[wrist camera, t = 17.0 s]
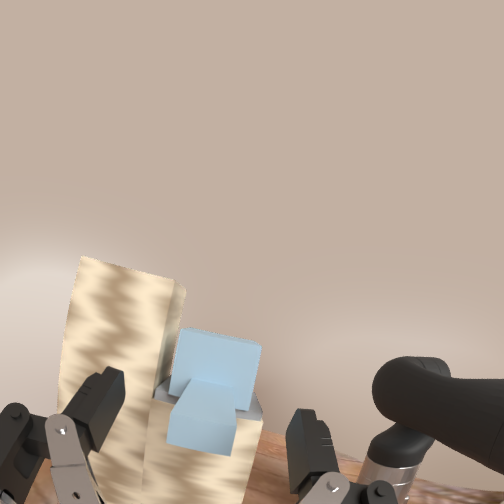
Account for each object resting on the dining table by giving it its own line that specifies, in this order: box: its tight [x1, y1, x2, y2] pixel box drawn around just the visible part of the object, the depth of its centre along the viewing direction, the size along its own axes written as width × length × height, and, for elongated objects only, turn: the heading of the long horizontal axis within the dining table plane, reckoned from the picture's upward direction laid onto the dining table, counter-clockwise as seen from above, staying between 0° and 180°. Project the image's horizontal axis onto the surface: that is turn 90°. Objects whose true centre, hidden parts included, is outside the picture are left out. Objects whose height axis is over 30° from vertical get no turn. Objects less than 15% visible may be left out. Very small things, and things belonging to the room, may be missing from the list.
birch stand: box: [57, 256, 263, 504], centre depth 22 cm, size 20×8×37 cm, turn 94°
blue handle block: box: [166, 328, 262, 456], centre depth 20 cm, size 7×16×6 cm, turn 4°
